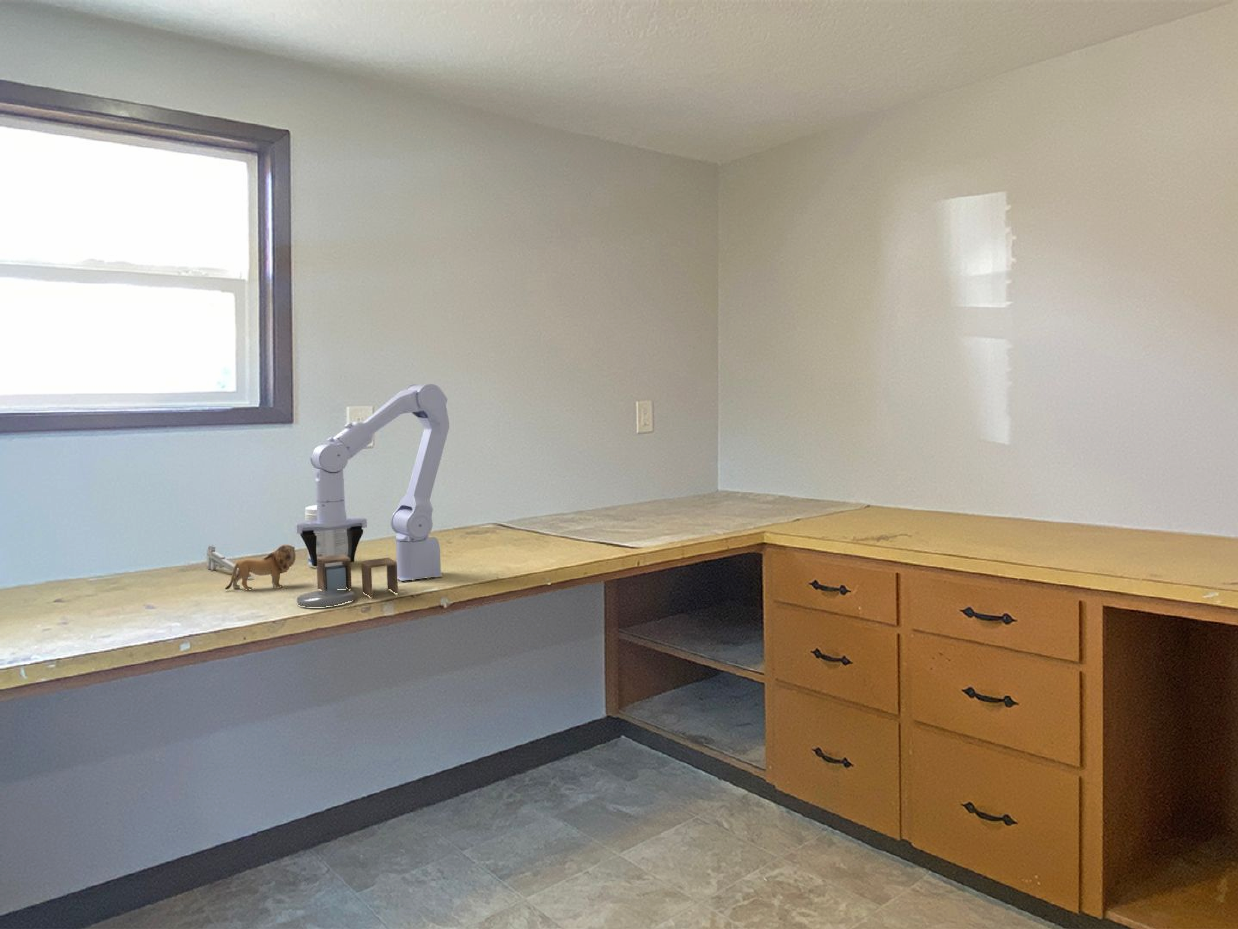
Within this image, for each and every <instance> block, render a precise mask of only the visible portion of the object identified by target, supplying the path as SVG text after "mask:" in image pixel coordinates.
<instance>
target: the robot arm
mask: <svg viewBox="0 0 1238 929" xmlns="http://www.w3.org/2000/svg"><path fill="white" fill-rule="evenodd" d="M447 403H448V398H447V396H446V395H445V393H444V391H443V389H442V388H440V386H438V385H437V384H433V383H428V384H411V385H408V386H406V388H405V389H403V390H401V391H400V390H399V392H397V393H396V394H395V395H394V396H393V397H392V398H390V399H389V400H388V401H386V402H385V403H384V404H383V405H382V406H381V407H380V408H379V409H377V410H376V411H375V412H373V414H371V415H370V416H369V417H368V418H366V420H363V421H362V422H361V421H353V422H347V423H346V424H344V429H342V431H340V432H339V433H338V434H336V435H335V436H333V437H331V436H330V437H328V438H327V439H326V441H327V443H326V444H321V445H318V446H316V447H315V449H314V450H313V453H312V454H311V457H309V460H310V463H311V465H312V466H313V468H314V469H315V497H316V498H315V499H316V503H315V504H316V505H317V521H312V522H306V521H305V522H298V523H297V522H296V523H294V530H295V532H294V533H296V534H297V535H298V534H299V535H300V537H301V539H302V540H303V543H304V544H305V547H306V549H308V551H307V553H308V552H309V555H310V558H311V562H312V565H313V566H317V554H316V540H317V536H316V535H315V533H314V532H316V531H327V530H338V529H346V531H347V538H348V557H349V558H350V561H351V563H354V562H355V557H356V553H357V548H358V545H359V542H360V541H361V538H362V536H363V534H364V528H368V519H367V518H366V517H354V518H353V517H351V518H346V519H345V510H346V505H345V504H346V501H345V498H346V497H345V479H344V469H345V468H346V467H347V464H348V461H349V460H351V459H352V458H354V457H355V456H356V455H358V454H359V453H360V452H361V451H362V450H364V449H365V448H366V447H367V446H369V445H370V444H371V443H372V442H373V438H374V434H375V433H376V432H378V431H380V430H381V429H382V428H384V427H385V426H386V425H388V424H389V423H391V422H392V421H393V420H395V419H396V418H398V417H399V416H401V415H403V414H410V413H411V415H414V417H416V418H417V419H418V421H419V423H420V424H421V426H422V427H423V433H422V434H421V435H422V436H421V439H420V443H419V446H418V451H417V454H416V457H415V461H414V465H413V469H412V472H411V477H410V479H409V483H408V486H407V491H406V493H405V495H404V496H403V497H402V499H401V500H400V501H399V503H398V506H397V508H396V510H395V511H394V512H393V513H392V515H391V517H390V526H391V529H392V530H393V531H394V532H395V533H396V534H395V535H396V536H395V554H396V555H395V556H396V558H395V559H396V562H397V578H398V579H399V580H401V581H405V580H412V579H419V578H425V577H435V578H440V577H439V576H441V577H442V576H443V575H442V573H441V572H442V570H441V567H442V566H441V547H440V543H439V540H438V538H437V537H436V536H430V537H429V535H430V533H431V531H432V529H433V519H432V514H433V512H434V510H433V505H432V503H431V496H432V492H433V489H434V485H435V481H436V477H437V474H438V470H439V466H440V463H441V460H442V455H443V452H444V448H445V445H446V441H447V437H448V434H449V429H450V421H449V415H448V414H449V413H448V409H447ZM335 526H341V527H335ZM324 527H330V528H324ZM318 528H319V529H318ZM398 579H397V580H398ZM399 580H398V581H399ZM401 581H400V582H401ZM412 581H413V580H412ZM405 582H406V581H405Z"/></svg>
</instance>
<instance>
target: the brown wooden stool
mask: <svg viewBox="0 0 1238 929" xmlns="http://www.w3.org/2000/svg"><path fill="white" fill-rule="evenodd" d="M360 562H361V585H362V586H361V587H362V593H363V592H364V593H365V594H367V595H369V596H370V597H372V596H373V577H372V576H373V575H372V574H373V573H372V568H381V567H386V580H387V581H386V584H387V585H386V586H387V590H388V589H391V590H392V591H393V592H395V593H398V594H399V586H398V584H399V583H398V581H399V580H398V579H397V560H394V559H392V558H390V557H384V558H383V557H382V558H375V559H367V560H365V559H364V560H361V561H360Z"/></svg>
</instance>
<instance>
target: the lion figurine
mask: <svg viewBox="0 0 1238 929" xmlns="http://www.w3.org/2000/svg"><path fill="white" fill-rule="evenodd" d="M295 550H296V549H295V546H293V545H289V544H282V545H280V546H279V547H278V548H277V549H276V550H273V552H270V553H269V554H268V555H267V556H266V557H264V558H259V559H258V558H257V559H254V558H247V557H246V558H242V559H240V560H238V561H237V562H236V563H235V566H234V569H233V572H232V571H231V572H232V573H231V578H230V582H229V584H227V586H226V587H225V588H224V590H229V589H230V588H231V587H232V588H233V589H240V588H241V586H240V585H239V584H238V582H239V581H240V580H241V585H242V586H243V588H244V589H247V590H246V591H250V590H249V589H252V590H253V587H252V586H251V587H250V586H248V583H247V582H248V577H249V573H250V574H254V575H255V576H268V575H271V584H272V585H273V586H274V585H275V588H277V587H280V586H282V587H283V585H282V584H280V580H281V578H280V577H281V574H283V573H287V572H288V570H290V568H291V567H292V566H293V565H294V564H295V561H296V559H297V558H296V556H297V555H296V552H295ZM237 568H238V569H239V571H238V574H235V573H236V570H237Z"/></svg>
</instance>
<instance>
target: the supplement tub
mask: <svg viewBox="0 0 1238 929" xmlns="http://www.w3.org/2000/svg"><path fill="white" fill-rule="evenodd" d="M304 515H305V516H304V518H305V522H312V521H317V504H314V505H310V506H306V507H305V513H304ZM345 519H347V510H346V509H345ZM335 527H341V526H335ZM324 528H330V527H324ZM318 529H319V528H318ZM314 533H315V535H316V536H317V540H316V554H317V557H323V556H332V555H340V554H344V555H346V556H347V557H348V538H347V531H346V529H338V530H327V531H316V532H314ZM306 549H307V548H306ZM306 551H307V562H308V566H309V567H311V568H313V569H317V566H313V565H312V562H311V558H310V555H309V552H308V549H307V550H306ZM333 565H342V562H335V563H326V564H325V566H333Z"/></svg>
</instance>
